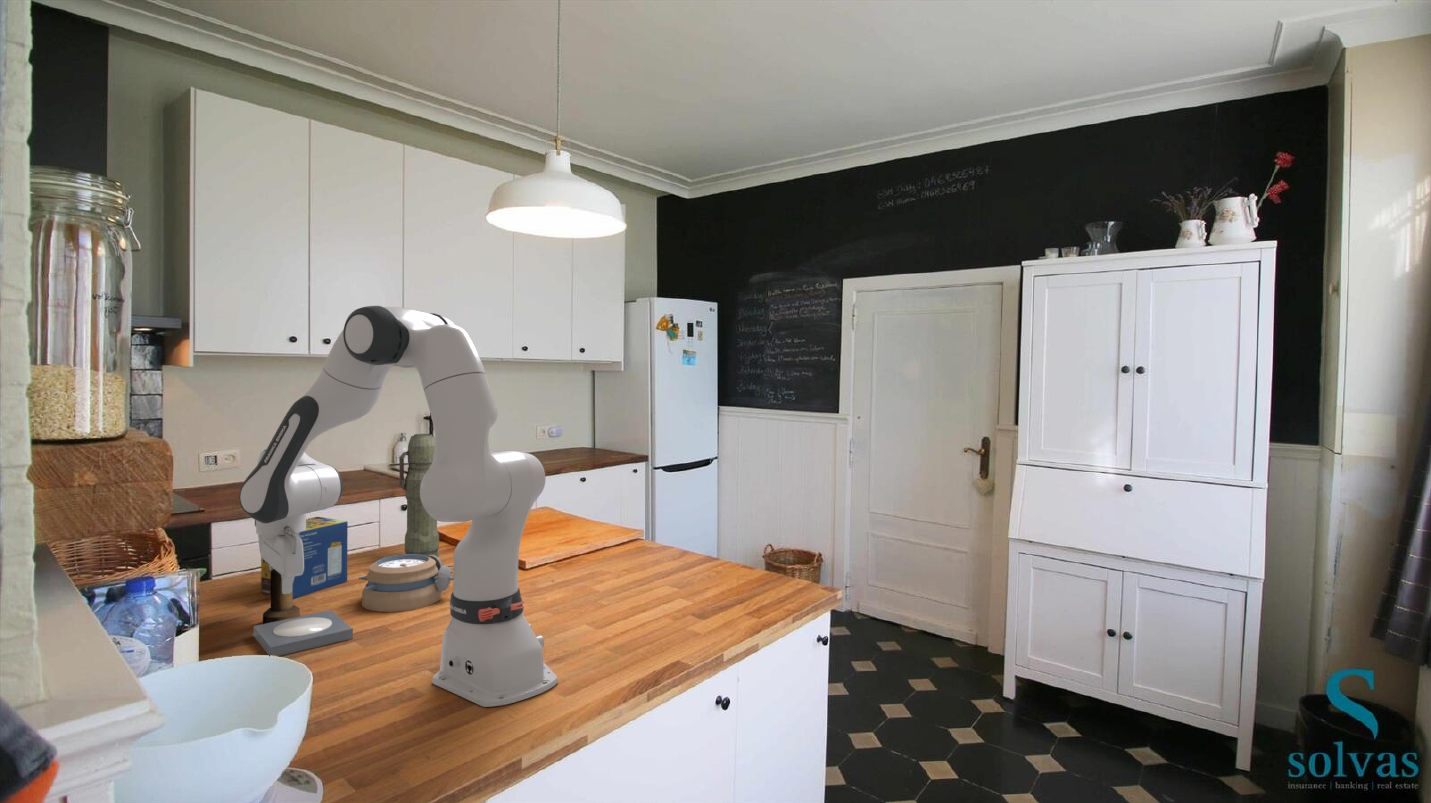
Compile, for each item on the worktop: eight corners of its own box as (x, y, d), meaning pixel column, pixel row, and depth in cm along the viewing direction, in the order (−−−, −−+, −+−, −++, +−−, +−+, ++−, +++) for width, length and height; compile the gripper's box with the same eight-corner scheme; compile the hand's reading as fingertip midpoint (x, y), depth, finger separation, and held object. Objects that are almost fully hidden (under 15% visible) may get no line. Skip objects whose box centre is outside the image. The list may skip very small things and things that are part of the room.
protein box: (259, 593, 162) (259, 528, 162) (318, 576, 177) (318, 516, 176) (291, 600, 159) (291, 533, 158) (348, 581, 173) (348, 520, 172)
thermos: (395, 557, 195) (395, 434, 194) (438, 551, 202) (439, 432, 201) (403, 565, 188) (404, 436, 187) (448, 558, 195) (449, 435, 194)
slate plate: (352, 638, 137) (352, 627, 137) (270, 658, 127) (270, 646, 127) (331, 619, 147) (331, 609, 147) (253, 636, 137) (253, 625, 137)
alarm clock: (356, 556, 163) (457, 544, 176) (355, 595, 163) (457, 580, 176) (367, 575, 149) (477, 560, 162) (367, 617, 149) (476, 599, 162)
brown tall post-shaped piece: (295, 614, 150) (295, 531, 149) (303, 622, 145) (303, 537, 144) (259, 621, 145) (259, 536, 144) (266, 630, 141) (266, 542, 140)
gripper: (312, 529, 139) (312, 597, 140) (286, 513, 154) (286, 574, 154) (276, 534, 135) (276, 604, 135) (252, 517, 149) (252, 580, 150)
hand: (281, 588), depth 145 cm, fingers open, 6 cm apart
